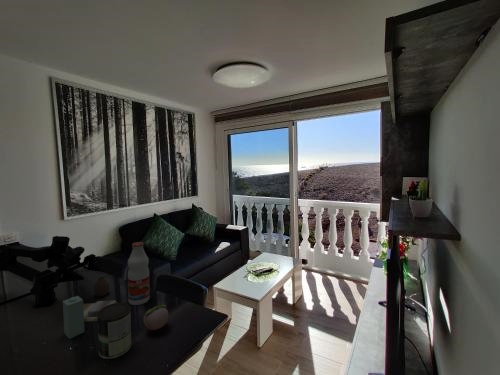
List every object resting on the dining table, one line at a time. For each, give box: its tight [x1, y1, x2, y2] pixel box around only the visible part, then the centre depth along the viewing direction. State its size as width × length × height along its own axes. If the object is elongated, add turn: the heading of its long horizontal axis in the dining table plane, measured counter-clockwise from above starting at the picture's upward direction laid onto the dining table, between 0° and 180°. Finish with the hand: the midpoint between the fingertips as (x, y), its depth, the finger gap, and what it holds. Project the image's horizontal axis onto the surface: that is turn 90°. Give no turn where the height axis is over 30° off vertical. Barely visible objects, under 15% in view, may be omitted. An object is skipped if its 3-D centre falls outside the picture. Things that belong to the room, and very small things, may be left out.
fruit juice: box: [127, 241, 151, 306], centre depth 119 cm, size 9×9×28 cm
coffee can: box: [97, 302, 132, 360], centre depth 88 cm, size 10×10×14 cm
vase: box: [93, 276, 111, 298], centre depth 124 cm, size 7×7×9 cm
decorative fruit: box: [143, 304, 169, 331], centre depth 98 cm, size 9×8×10 cm
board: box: [83, 299, 119, 323], centre depth 109 cm, size 16×12×4 cm
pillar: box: [62, 295, 85, 340], centre depth 96 cm, size 5×5×14 cm
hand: (92, 274), depth 110 cm, fingers open, 9 cm apart
